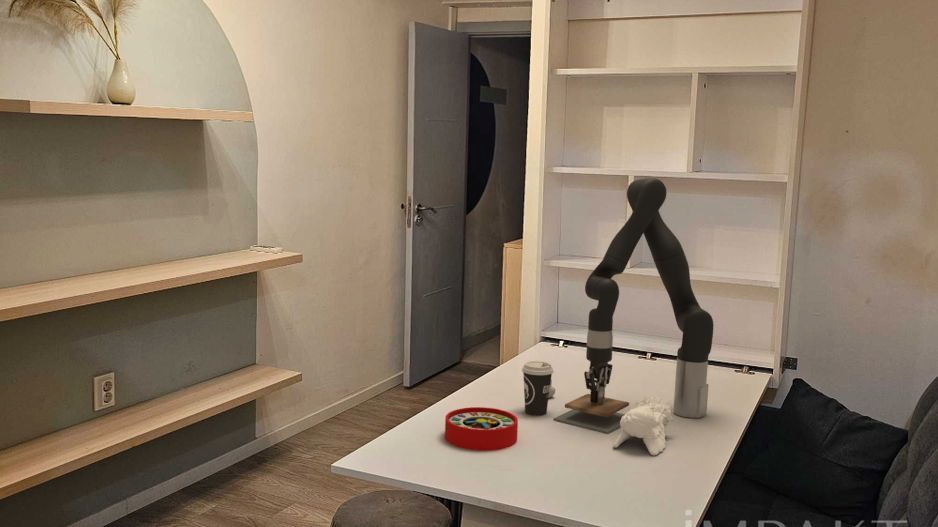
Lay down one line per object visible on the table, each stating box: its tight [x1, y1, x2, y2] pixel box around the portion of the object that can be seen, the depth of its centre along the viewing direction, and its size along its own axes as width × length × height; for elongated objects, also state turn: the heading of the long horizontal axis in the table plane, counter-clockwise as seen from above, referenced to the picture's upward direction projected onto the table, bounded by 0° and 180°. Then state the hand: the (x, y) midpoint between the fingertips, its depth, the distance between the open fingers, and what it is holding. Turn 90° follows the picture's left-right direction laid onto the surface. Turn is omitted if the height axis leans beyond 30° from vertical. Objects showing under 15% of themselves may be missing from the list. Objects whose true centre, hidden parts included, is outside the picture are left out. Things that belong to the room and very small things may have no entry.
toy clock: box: [444, 406, 519, 452], centre depth 240 cm, size 20×6×20 cm
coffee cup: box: [521, 360, 554, 417], centre depth 263 cm, size 10×10×15 cm
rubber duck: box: [548, 379, 556, 399], centre depth 280 cm, size 5×7×8 cm
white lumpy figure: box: [612, 396, 674, 456], centre depth 239 cm, size 13×12×20 cm
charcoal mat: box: [552, 409, 625, 435], centre depth 259 cm, size 18×18×1 cm
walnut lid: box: [564, 384, 630, 417], centre depth 258 cm, size 14×14×6 cm
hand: (597, 400), depth 258 cm, fingers closed on walnut lid, 3 cm apart
